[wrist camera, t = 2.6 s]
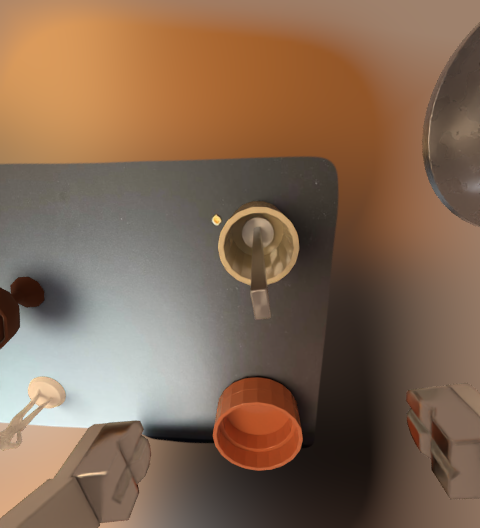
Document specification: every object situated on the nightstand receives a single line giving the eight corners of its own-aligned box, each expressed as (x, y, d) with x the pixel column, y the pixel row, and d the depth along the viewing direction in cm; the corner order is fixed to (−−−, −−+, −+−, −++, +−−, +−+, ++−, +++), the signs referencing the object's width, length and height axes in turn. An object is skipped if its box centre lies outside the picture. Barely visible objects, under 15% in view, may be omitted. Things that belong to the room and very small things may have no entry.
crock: (282, 195, 36) (294, 199, 25) (290, 254, 38) (303, 280, 27) (223, 206, 37) (211, 214, 26) (234, 262, 39) (226, 290, 28)
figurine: (72, 394, 48) (16, 458, 37) (51, 412, 50) (-9, 480, 39) (42, 369, 47) (-27, 429, 36) (21, 389, 49) (-51, 452, 37)
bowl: (291, 370, 44) (297, 398, 38) (300, 433, 48) (306, 467, 42) (211, 379, 45) (205, 407, 40) (226, 439, 49) (222, 472, 44)
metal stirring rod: (270, 213, 36) (297, 260, 13) (275, 244, 37) (305, 335, 14) (239, 218, 36) (213, 273, 14) (245, 248, 37) (228, 344, 15)
